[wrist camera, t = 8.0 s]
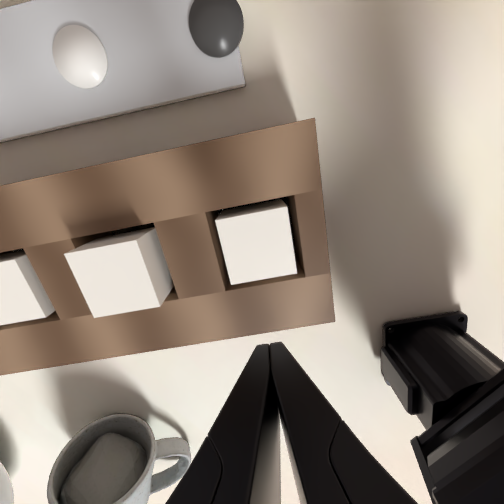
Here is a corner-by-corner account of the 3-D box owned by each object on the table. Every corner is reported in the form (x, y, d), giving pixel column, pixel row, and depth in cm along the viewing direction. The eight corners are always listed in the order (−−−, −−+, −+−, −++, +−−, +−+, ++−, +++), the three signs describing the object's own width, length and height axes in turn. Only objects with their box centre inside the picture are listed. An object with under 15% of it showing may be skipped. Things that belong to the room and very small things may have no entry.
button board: (300, 128, 16) (314, 117, 12) (319, 292, 20) (335, 321, 16) (-37, 201, 18) (-115, 210, 14) (42, 338, 22) (-3, 375, 18)
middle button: (157, 226, 16) (136, 239, 13) (175, 283, 17) (160, 306, 14) (97, 238, 16) (63, 253, 13) (120, 292, 17) (93, 318, 14)
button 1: (281, 199, 16) (287, 206, 13) (290, 255, 18) (297, 273, 15) (221, 211, 17) (215, 220, 14) (234, 265, 18) (231, 284, 15)
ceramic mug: (92, 463, 27) (34, 573, 20) (87, 408, 24) (18, 512, 17) (190, 471, 28) (169, 581, 20) (196, 419, 25) (175, 523, 18)
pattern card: (232, -44, 13) (230, -57, 13) (253, 84, 15) (253, 80, 15) (-85, 40, 15) (-103, 33, 14) (-28, 148, 17) (-42, 148, 16)
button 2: (53, 244, 17) (14, 259, 14) (77, 294, 19) (45, 317, 16) (1, 254, 18) (-48, 271, 15) (28, 303, 19) (-12, 327, 16)
